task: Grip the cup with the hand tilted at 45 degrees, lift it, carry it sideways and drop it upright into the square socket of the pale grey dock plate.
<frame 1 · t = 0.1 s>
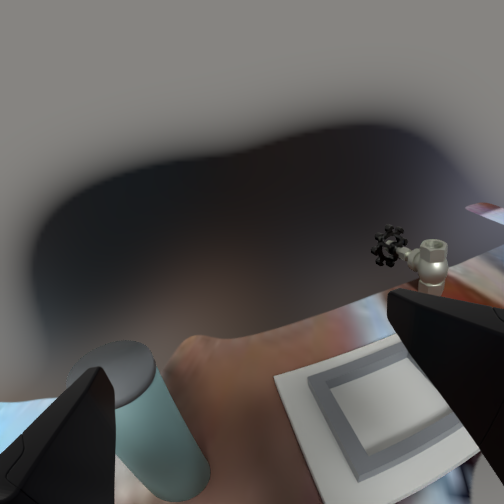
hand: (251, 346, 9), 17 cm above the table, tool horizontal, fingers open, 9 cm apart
valve: (412, 281, 41), on the table
dock: (390, 411, 22), on the table
cup: (177, 474, 20), on the table
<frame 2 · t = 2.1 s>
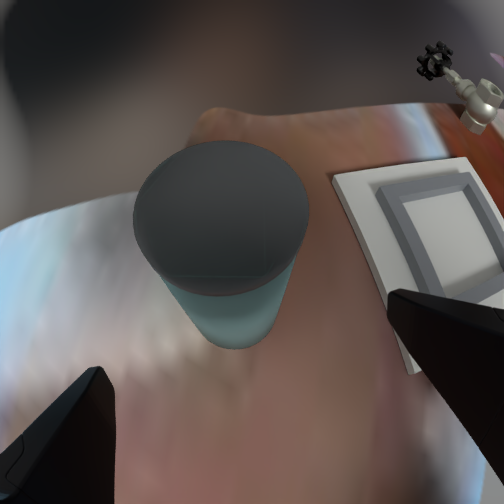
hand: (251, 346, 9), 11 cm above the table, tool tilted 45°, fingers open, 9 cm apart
valve: (452, 105, 32), on the table
dock: (448, 246, 23), on the table
cup: (234, 307, 21), on the table
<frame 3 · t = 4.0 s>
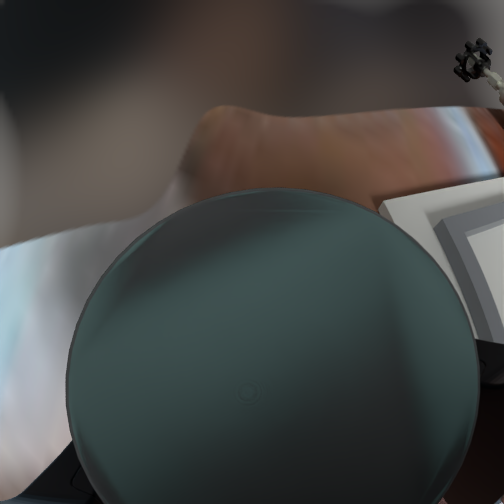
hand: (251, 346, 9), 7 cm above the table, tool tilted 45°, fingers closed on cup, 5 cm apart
valve: (492, 112, 26), on the table
cup: (257, 392, 14), on the table, touching gripper
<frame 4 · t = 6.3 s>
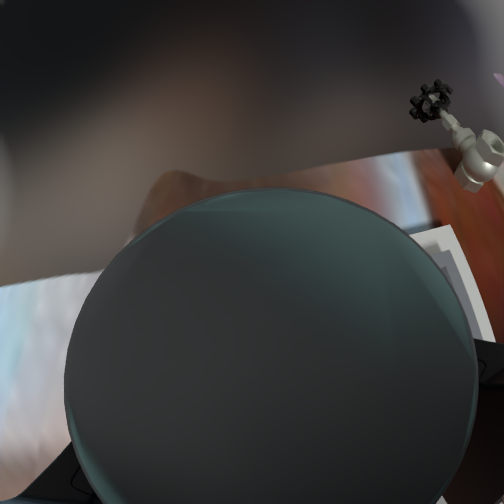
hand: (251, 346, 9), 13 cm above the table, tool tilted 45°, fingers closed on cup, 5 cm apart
valve: (446, 154, 31), on the table
dock: (410, 338, 22), on the table
cup: (256, 392, 14), point 7 cm above the table, touching gripper
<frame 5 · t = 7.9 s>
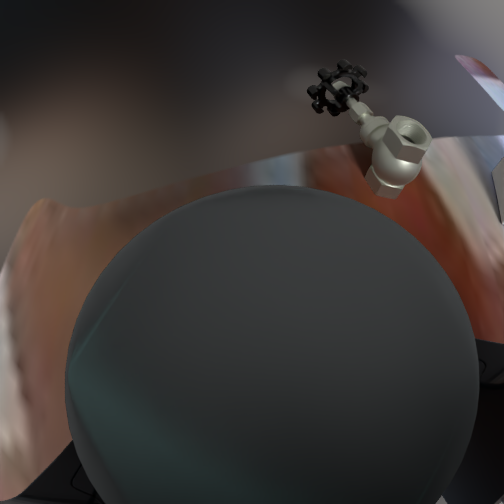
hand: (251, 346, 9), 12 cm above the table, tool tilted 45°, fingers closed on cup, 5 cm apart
valve: (361, 152, 28), on the table
cup: (257, 391, 14), point 5 cm above the table, touching gripper
when the fingers open (8 cm above the table, at t = 9.0 s): cup stays where it is, resting on dock.
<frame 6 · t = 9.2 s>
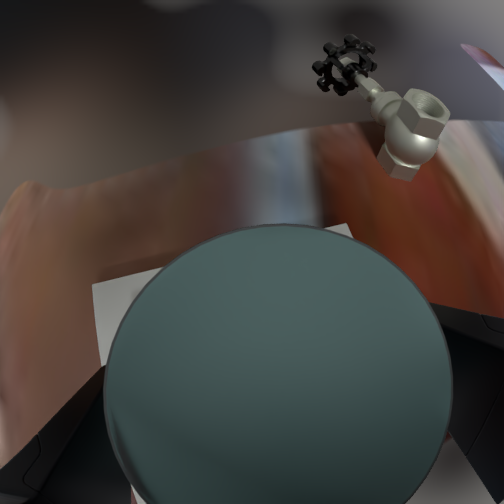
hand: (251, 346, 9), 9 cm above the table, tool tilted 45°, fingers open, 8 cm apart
valve: (371, 132, 25), on the table
dock: (256, 392, 16), on the table
cup: (257, 393, 15), point 1 cm above the table, touching dock
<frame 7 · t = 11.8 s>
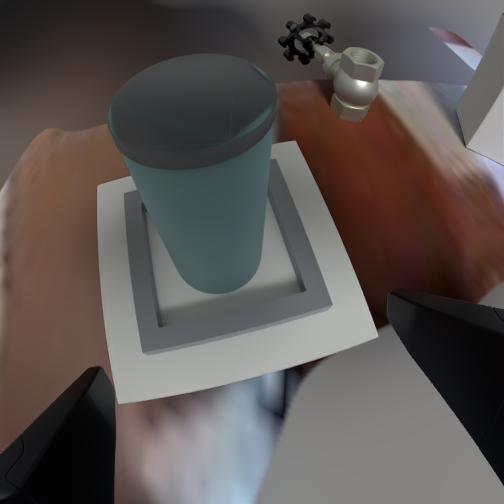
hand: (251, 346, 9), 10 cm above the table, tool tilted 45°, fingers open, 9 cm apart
valve: (328, 89, 30), on the table
milk carton: (482, 139, 28), on the table
dock: (218, 258, 21), on the table
cup: (217, 252, 20), point 1 cm above the table, touching dock
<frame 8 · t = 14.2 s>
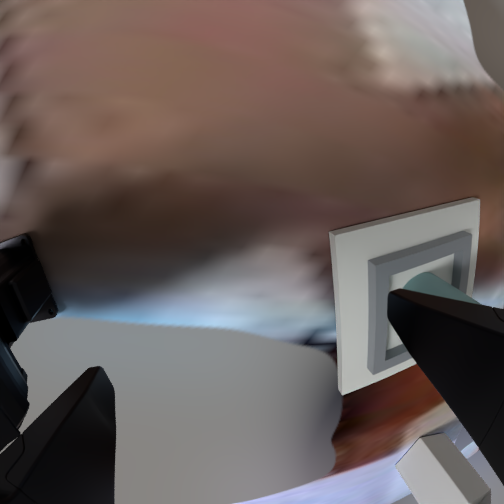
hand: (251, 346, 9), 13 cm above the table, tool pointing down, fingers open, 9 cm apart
milk carton: (419, 448, 39), on the table
dock: (412, 296, 26), on the table
cup: (418, 300, 25), point 1 cm above the table, touching dock
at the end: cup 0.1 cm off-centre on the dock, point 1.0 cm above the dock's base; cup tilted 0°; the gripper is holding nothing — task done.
